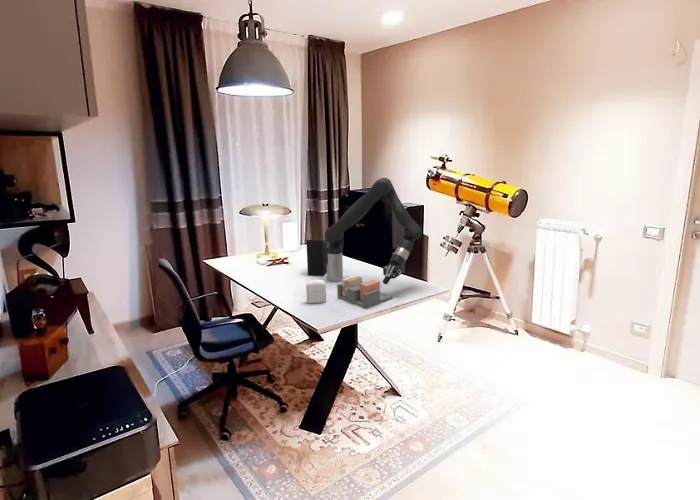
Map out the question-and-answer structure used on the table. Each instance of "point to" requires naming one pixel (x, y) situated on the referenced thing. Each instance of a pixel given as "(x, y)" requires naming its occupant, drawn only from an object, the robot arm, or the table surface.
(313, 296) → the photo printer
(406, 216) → the robot arm
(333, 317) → the table surface
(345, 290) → the ash plug
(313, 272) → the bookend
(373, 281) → the terracotta plug
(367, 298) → the grey slotted tray
